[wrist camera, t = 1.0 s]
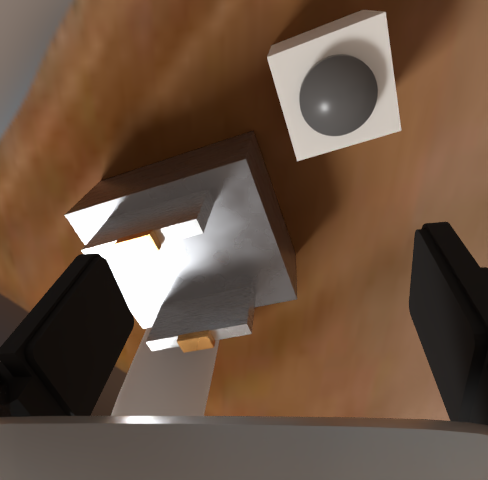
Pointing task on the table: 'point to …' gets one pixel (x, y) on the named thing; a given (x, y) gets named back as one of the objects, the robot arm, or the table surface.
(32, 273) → the table surface
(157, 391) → the milk bottle
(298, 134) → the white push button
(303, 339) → the table surface
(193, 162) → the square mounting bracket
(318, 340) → the table surface
